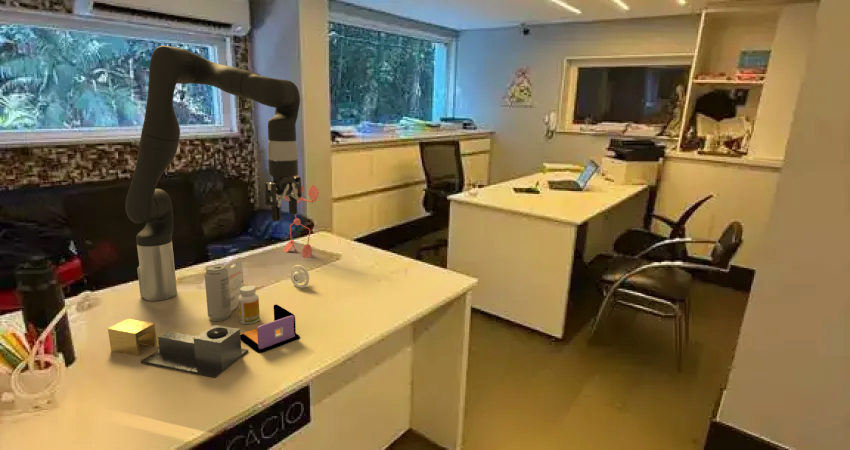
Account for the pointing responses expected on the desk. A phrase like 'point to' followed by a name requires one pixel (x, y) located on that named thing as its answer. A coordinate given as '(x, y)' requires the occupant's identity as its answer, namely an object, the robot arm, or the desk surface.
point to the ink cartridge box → (235, 281)
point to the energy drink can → (217, 292)
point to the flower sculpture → (307, 248)
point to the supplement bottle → (248, 305)
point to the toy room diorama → (272, 332)
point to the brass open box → (131, 336)
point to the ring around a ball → (299, 276)
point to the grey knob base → (198, 351)
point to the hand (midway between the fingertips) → (285, 217)
